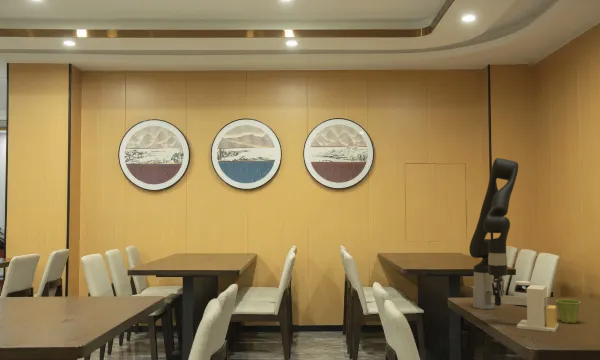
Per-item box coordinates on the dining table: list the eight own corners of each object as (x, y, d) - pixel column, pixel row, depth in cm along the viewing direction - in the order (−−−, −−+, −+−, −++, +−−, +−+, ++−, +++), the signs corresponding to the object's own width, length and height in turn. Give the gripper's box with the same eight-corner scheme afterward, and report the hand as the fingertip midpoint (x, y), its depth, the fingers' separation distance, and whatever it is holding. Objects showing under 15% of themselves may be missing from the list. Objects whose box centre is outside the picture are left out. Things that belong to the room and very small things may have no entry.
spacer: (546, 327, 210) (546, 308, 211) (548, 323, 217) (548, 305, 217) (555, 327, 209) (554, 308, 209) (556, 324, 215) (556, 305, 216)
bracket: (516, 328, 213) (515, 287, 214) (521, 322, 224) (520, 284, 225) (555, 332, 206) (553, 290, 207) (558, 325, 217) (557, 286, 218)
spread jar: (518, 302, 271) (517, 279, 272) (541, 305, 264) (541, 281, 265) (512, 306, 261) (511, 282, 262) (536, 308, 255) (535, 284, 255)
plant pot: (571, 325, 218) (571, 303, 219) (551, 321, 227) (551, 300, 227) (586, 322, 223) (585, 301, 223) (566, 318, 231) (565, 298, 231)
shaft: (485, 304, 224) (484, 292, 224) (487, 303, 228) (487, 291, 228) (547, 310, 212) (547, 297, 212) (548, 308, 216) (548, 295, 216)
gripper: (492, 261, 232) (493, 301, 231) (484, 264, 220) (485, 306, 219) (510, 262, 228) (511, 303, 228) (503, 265, 216) (504, 308, 216)
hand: (498, 304), depth 223 cm, fingers closed on shaft, 3 cm apart
